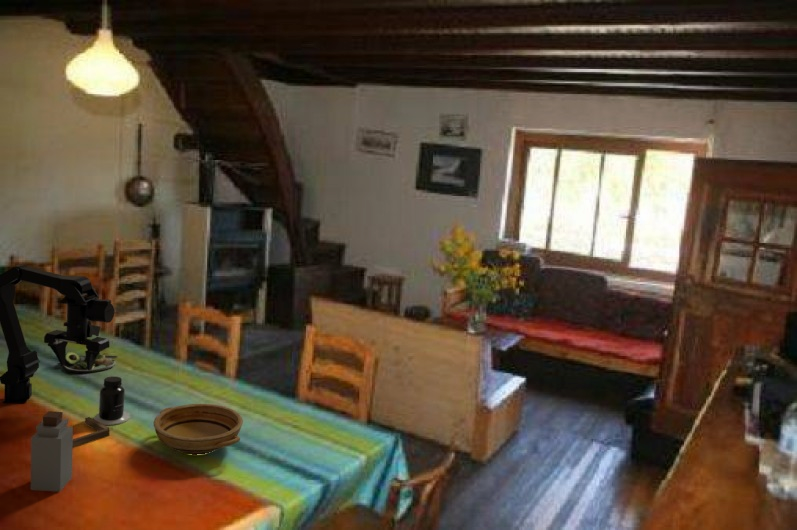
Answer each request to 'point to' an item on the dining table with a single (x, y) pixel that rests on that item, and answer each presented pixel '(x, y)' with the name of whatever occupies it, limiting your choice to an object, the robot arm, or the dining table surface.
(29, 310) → the dining table surface
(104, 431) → the wooden u-shaped frame
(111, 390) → the supplement bottle
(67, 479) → the perfume bottle
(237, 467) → the dining table surface
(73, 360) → the salad plate
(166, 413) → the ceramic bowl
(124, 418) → the coaster
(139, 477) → the dining table surface
